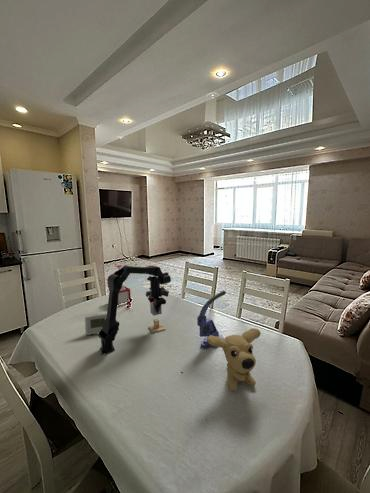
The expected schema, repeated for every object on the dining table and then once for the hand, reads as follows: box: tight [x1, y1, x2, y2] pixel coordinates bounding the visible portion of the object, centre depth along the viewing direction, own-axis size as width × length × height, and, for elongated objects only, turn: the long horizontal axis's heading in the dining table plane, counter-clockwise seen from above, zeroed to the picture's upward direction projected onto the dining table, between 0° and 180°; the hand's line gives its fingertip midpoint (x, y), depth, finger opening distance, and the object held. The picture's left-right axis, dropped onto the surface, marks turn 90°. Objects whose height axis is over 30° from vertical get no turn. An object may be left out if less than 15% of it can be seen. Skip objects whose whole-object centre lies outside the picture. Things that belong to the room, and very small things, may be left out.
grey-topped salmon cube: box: [149, 302, 163, 317], centre depth 143 cm, size 5×5×7 cm
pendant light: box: [115, 264, 132, 305], centre depth 185 cm, size 11×11×30 cm
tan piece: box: [147, 318, 166, 334], centre depth 144 cm, size 8×8×6 cm
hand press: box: [196, 290, 227, 350], centre depth 127 cm, size 19×9×28 cm, turn 127°
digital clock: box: [84, 312, 107, 336], centre depth 142 cm, size 16×9×11 cm, turn 97°
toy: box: [206, 327, 261, 392], centre depth 98 cm, size 25×20×20 cm
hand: (155, 310), depth 143 cm, fingers closed on grey-topped salmon cube, 5 cm apart
